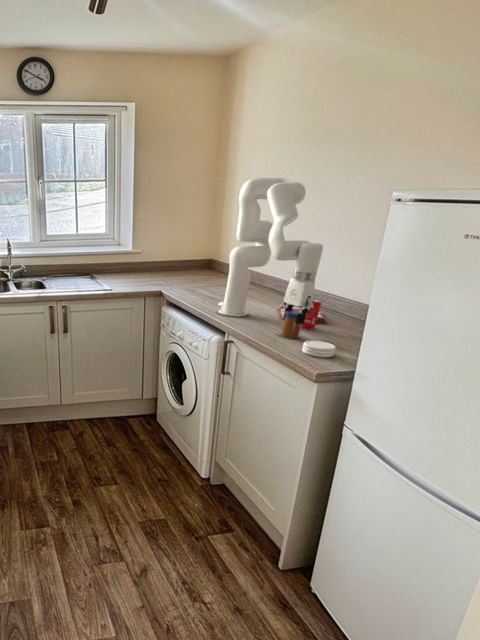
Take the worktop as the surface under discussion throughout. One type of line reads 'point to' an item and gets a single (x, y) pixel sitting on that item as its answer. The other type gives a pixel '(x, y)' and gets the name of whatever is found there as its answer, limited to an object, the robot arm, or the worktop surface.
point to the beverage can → (312, 316)
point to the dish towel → (319, 318)
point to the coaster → (318, 349)
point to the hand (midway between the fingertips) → (293, 320)
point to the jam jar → (290, 328)
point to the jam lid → (292, 314)
